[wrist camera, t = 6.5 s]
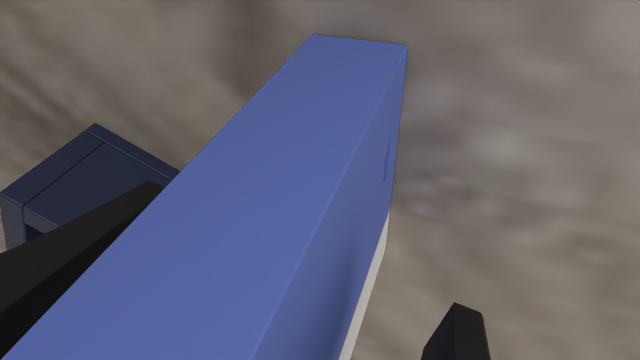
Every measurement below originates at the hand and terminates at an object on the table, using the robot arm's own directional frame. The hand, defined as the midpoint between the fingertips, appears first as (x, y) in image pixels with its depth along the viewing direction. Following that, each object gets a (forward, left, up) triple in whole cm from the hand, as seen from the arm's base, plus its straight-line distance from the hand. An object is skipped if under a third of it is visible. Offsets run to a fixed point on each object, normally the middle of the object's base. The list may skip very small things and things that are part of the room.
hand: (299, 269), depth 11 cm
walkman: (0, 0, -5) cm, 5 cm away
